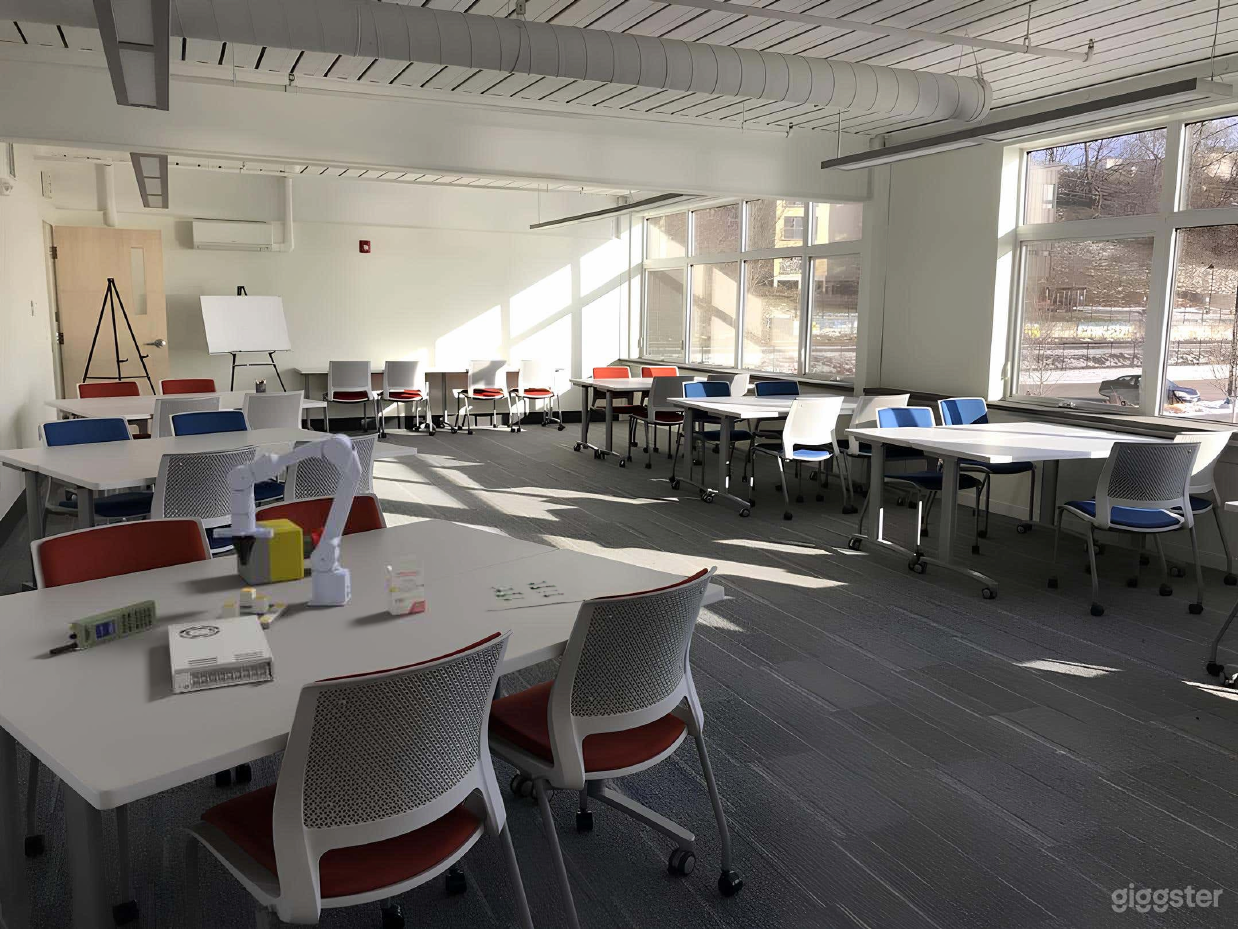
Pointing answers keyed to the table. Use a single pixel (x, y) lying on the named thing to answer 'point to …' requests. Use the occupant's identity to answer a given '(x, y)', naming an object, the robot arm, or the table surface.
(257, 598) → the switch mid
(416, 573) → the ink cartridge box
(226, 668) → the power supply unit
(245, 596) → the switch far
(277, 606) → the switch unit
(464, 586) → the table surface
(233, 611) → the switch near
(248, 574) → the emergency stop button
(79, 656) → the table surface
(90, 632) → the handheld radio
